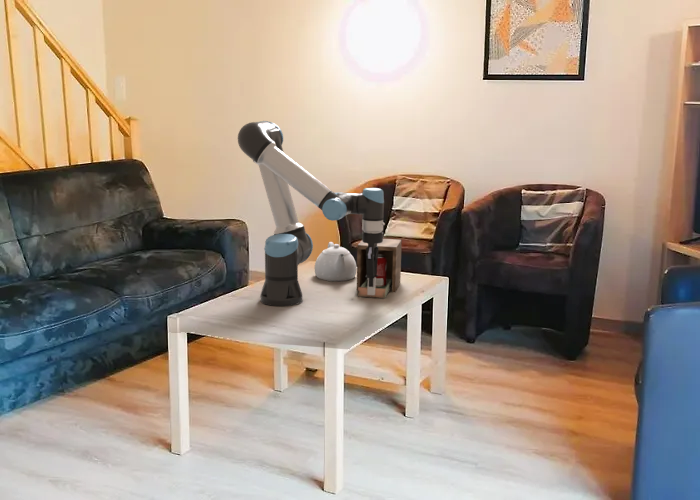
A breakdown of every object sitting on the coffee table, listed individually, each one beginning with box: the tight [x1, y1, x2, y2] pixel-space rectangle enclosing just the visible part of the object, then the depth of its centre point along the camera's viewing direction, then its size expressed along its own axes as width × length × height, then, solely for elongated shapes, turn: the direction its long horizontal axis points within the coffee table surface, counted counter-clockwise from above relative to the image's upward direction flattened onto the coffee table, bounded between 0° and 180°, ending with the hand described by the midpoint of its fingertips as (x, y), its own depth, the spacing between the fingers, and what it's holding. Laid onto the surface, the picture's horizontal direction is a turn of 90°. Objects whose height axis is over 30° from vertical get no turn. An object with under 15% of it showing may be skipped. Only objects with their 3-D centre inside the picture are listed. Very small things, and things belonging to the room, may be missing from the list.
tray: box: [357, 278, 392, 299], centre depth 298 cm, size 10×20×3 cm, turn 169°
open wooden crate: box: [356, 238, 403, 293], centre depth 304 cm, size 15×15×18 cm
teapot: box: [314, 241, 357, 282], centre depth 319 cm, size 19×18×14 cm
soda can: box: [376, 254, 387, 288], centre depth 300 cm, size 7×7×12 cm
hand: (371, 294), depth 288 cm, fingers closed
